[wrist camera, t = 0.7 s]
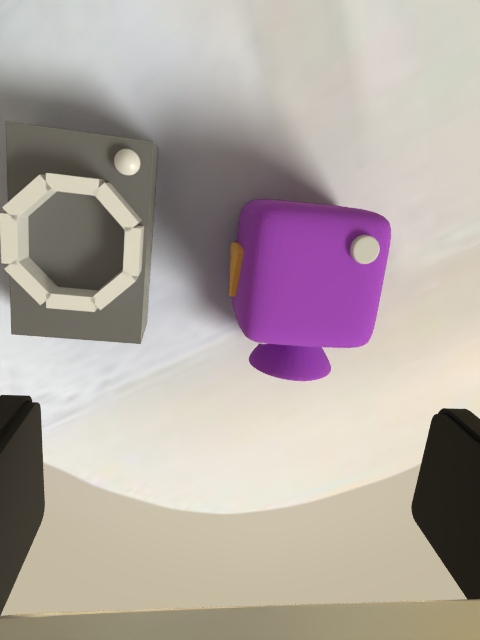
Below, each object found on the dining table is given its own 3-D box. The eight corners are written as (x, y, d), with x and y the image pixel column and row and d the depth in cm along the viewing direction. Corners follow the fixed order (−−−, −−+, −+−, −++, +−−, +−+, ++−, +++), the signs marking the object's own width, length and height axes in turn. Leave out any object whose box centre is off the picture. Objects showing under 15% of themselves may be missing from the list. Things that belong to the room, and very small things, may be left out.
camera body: (32, 130, 32) (-8, 116, 26) (158, 147, 33) (150, 138, 27) (34, 314, 36) (-1, 343, 29) (146, 323, 37) (137, 353, 31)
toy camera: (233, 360, 39) (246, 416, 30) (215, 202, 35) (225, 208, 26) (351, 345, 40) (401, 395, 30) (347, 188, 36) (404, 189, 26)
